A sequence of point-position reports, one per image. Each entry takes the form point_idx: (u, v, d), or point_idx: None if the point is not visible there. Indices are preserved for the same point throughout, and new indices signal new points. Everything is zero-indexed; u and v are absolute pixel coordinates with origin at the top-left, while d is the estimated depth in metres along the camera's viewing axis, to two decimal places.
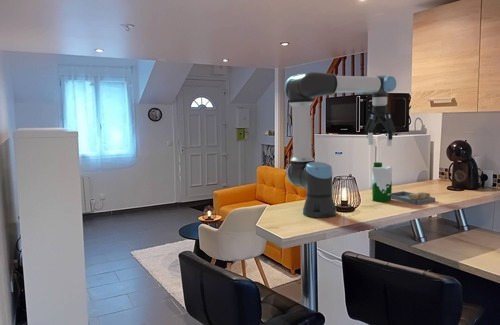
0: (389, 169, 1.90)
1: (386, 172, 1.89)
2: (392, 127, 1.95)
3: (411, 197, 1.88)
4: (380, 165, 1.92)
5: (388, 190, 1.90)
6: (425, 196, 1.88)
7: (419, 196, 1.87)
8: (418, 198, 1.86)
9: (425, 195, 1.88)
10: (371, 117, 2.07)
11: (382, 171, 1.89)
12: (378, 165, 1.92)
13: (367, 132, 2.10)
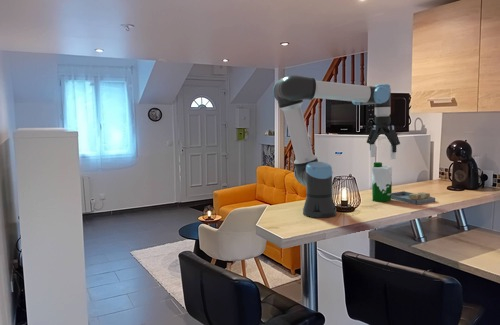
0: (389, 169, 1.90)
1: (386, 172, 1.89)
2: (396, 139, 1.83)
3: (411, 197, 1.88)
4: (380, 165, 1.92)
5: (388, 190, 1.90)
6: (425, 196, 1.88)
7: (419, 196, 1.87)
8: (418, 198, 1.86)
9: (425, 195, 1.88)
10: (373, 128, 1.95)
11: (382, 171, 1.89)
12: (378, 165, 1.92)
13: None
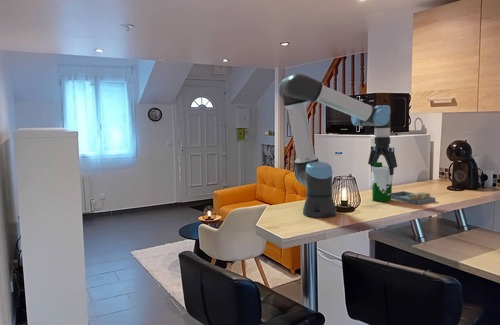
0: None
1: (386, 172, 1.88)
2: (394, 162, 1.85)
3: (411, 197, 1.88)
4: (380, 165, 1.92)
5: (388, 190, 1.90)
6: (425, 196, 1.88)
7: (419, 196, 1.87)
8: (418, 198, 1.86)
9: (425, 195, 1.88)
10: (373, 149, 1.96)
11: (382, 171, 1.89)
12: (378, 165, 1.92)
13: (371, 165, 1.98)
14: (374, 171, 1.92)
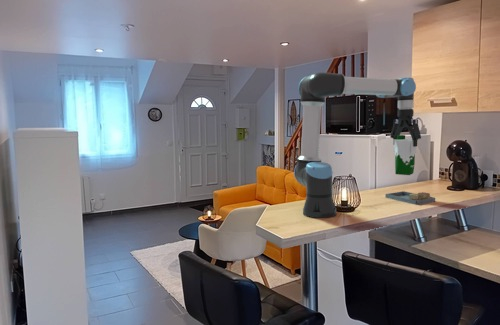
0: None
1: (410, 144, 1.90)
2: (418, 133, 1.87)
3: (411, 197, 1.88)
4: (403, 137, 1.94)
5: (411, 162, 1.92)
6: (425, 196, 1.88)
7: (419, 196, 1.87)
8: (418, 198, 1.86)
9: (425, 195, 1.88)
10: (396, 122, 1.98)
11: (406, 143, 1.91)
12: (401, 137, 1.94)
13: (393, 138, 2.00)
14: (397, 143, 1.93)
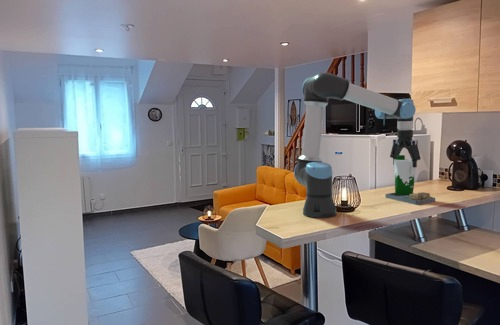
0: None
1: (409, 165, 1.91)
2: (417, 155, 1.88)
3: (411, 197, 1.88)
4: (403, 158, 1.95)
5: (411, 182, 1.93)
6: (425, 196, 1.88)
7: (419, 196, 1.87)
8: (418, 198, 1.86)
9: (425, 195, 1.88)
10: (396, 142, 1.99)
11: (405, 163, 1.92)
12: (401, 158, 1.95)
13: (393, 158, 2.01)
14: (397, 164, 1.95)
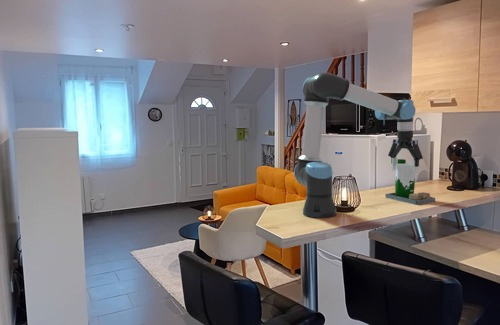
0: None
1: (410, 169, 1.92)
2: (419, 154, 1.87)
3: (411, 197, 1.88)
4: (404, 162, 1.96)
5: (411, 186, 1.93)
6: (425, 196, 1.88)
7: (419, 196, 1.87)
8: (418, 198, 1.86)
9: (425, 195, 1.88)
10: (395, 142, 1.99)
11: (406, 167, 1.92)
12: (402, 162, 1.96)
13: (391, 157, 2.02)
14: (398, 167, 1.95)
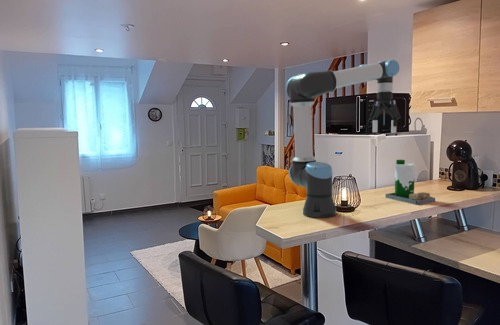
0: (412, 166, 1.93)
1: (409, 169, 1.91)
2: (397, 113, 1.90)
3: (411, 197, 1.88)
4: (403, 162, 1.95)
5: (410, 187, 1.93)
6: (425, 196, 1.88)
7: (419, 196, 1.87)
8: (418, 198, 1.86)
9: (425, 195, 1.88)
10: (376, 104, 2.02)
11: (405, 168, 1.92)
12: (401, 162, 1.95)
13: (372, 119, 2.06)
14: (397, 168, 1.95)
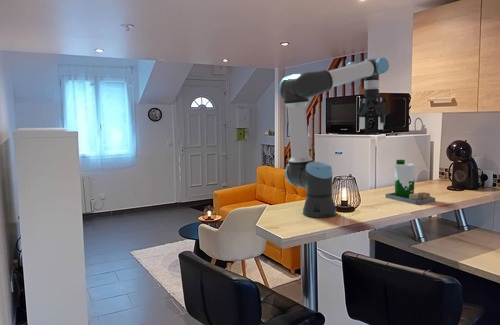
0: (412, 166, 1.93)
1: (409, 169, 1.92)
2: (384, 110, 1.94)
3: (411, 197, 1.88)
4: (403, 162, 1.95)
5: (410, 187, 1.93)
6: (425, 196, 1.88)
7: (419, 196, 1.87)
8: (418, 198, 1.86)
9: (425, 195, 1.88)
10: (363, 101, 2.06)
11: (405, 168, 1.92)
12: (401, 162, 1.95)
13: (359, 116, 2.09)
14: (397, 168, 1.95)
